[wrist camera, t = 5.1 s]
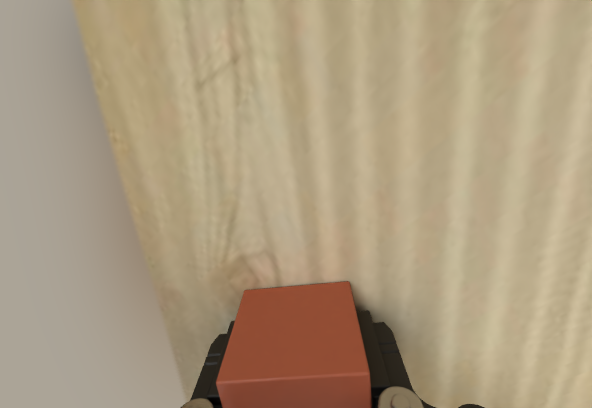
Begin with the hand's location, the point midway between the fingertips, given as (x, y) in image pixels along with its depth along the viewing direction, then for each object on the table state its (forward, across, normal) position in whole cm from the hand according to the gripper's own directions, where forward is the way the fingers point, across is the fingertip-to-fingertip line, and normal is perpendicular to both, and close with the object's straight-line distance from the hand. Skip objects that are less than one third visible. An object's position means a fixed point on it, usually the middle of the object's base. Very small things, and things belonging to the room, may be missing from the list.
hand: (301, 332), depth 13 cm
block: (0, 0, 0) cm, 0 cm away
